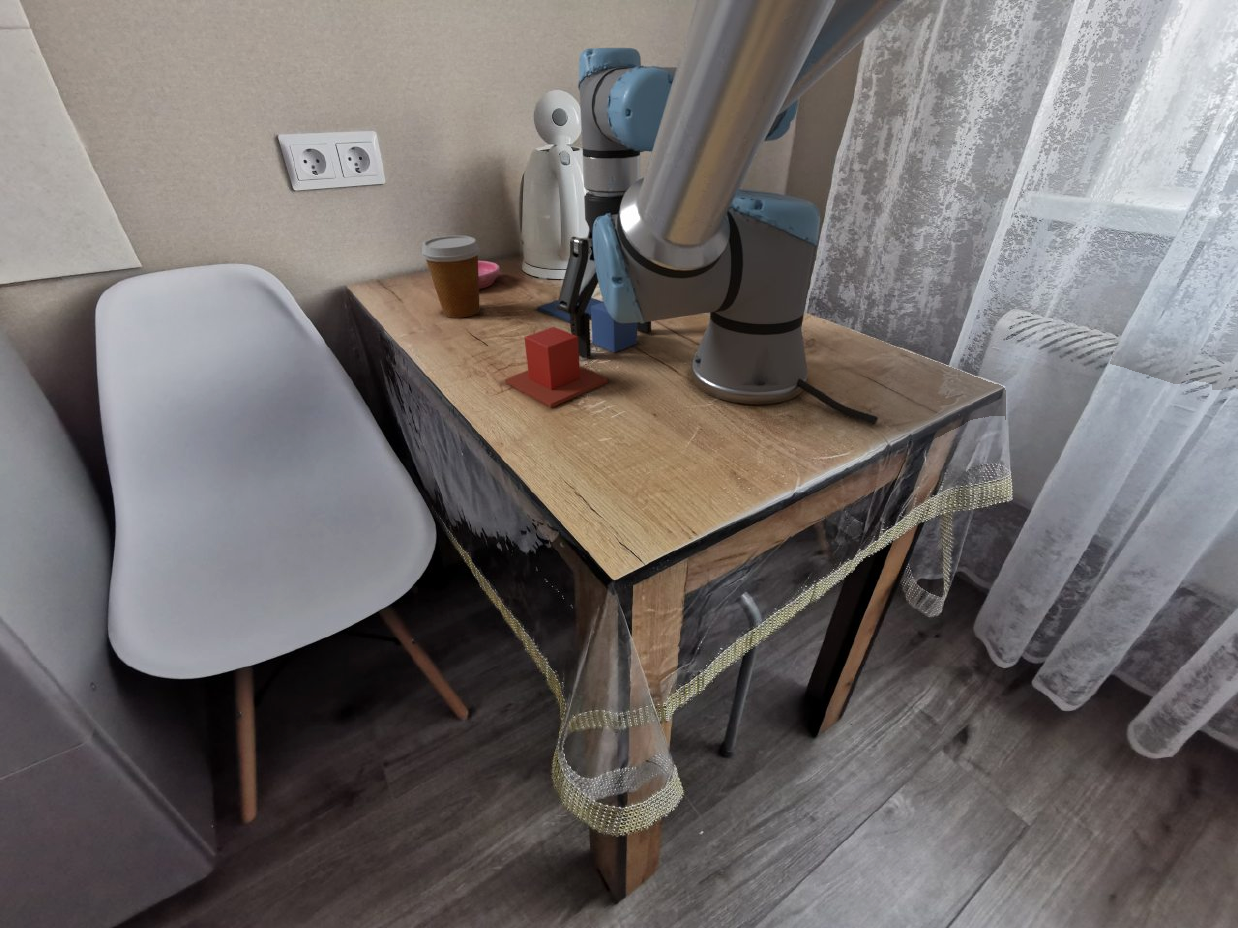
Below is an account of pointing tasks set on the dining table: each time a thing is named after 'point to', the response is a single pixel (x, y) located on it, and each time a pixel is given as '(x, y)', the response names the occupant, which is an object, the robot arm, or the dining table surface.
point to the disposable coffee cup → (454, 273)
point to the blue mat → (552, 310)
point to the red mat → (559, 394)
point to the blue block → (611, 330)
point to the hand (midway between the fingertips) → (614, 342)
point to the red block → (552, 357)
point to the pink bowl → (487, 273)
